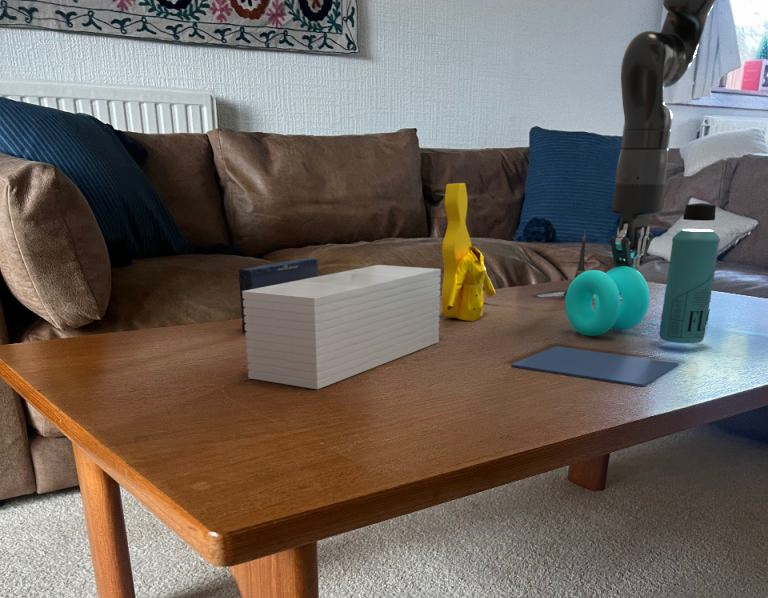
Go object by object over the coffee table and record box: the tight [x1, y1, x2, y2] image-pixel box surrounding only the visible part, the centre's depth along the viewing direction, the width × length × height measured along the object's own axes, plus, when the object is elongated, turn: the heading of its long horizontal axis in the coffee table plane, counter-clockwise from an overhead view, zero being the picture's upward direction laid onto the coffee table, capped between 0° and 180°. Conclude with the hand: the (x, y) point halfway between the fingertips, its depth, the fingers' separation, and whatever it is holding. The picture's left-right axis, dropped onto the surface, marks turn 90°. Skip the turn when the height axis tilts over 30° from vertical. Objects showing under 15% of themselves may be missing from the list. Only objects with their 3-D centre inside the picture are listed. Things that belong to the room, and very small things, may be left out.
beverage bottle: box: [659, 202, 721, 344], centre depth 111 cm, size 6×7×20 cm
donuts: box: [564, 266, 651, 337], centre depth 124 cm, size 10×10×10 cm
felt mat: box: [510, 346, 680, 388], centre depth 105 cm, size 18×14×1 cm
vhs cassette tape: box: [238, 257, 319, 334], centre depth 130 cm, size 18×3×10 cm, turn 148°
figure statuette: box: [441, 182, 497, 322], centre depth 134 cm, size 18×8×22 cm, turn 148°
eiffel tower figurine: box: [536, 231, 622, 301], centre depth 154 cm, size 15×10×13 cm
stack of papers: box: [242, 264, 442, 390], centre depth 107 cm, size 32×11×11 cm, turn 149°
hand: (625, 294), depth 129 cm, fingers closed
